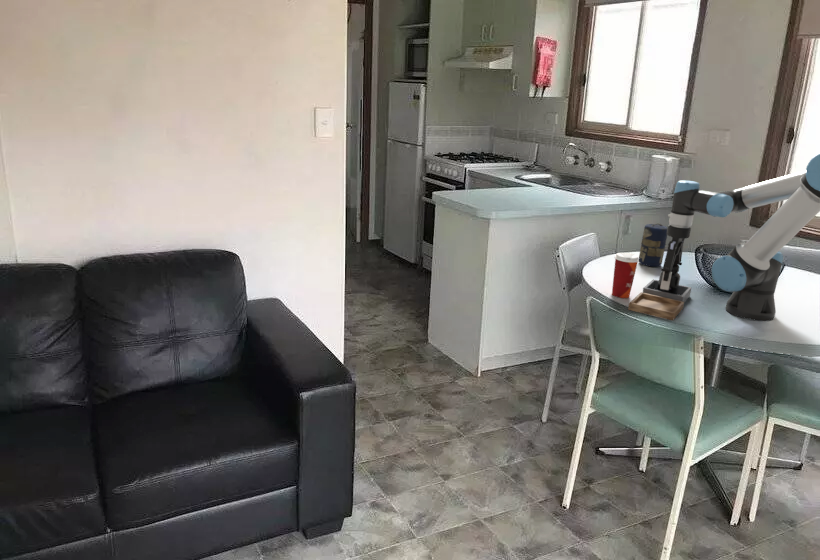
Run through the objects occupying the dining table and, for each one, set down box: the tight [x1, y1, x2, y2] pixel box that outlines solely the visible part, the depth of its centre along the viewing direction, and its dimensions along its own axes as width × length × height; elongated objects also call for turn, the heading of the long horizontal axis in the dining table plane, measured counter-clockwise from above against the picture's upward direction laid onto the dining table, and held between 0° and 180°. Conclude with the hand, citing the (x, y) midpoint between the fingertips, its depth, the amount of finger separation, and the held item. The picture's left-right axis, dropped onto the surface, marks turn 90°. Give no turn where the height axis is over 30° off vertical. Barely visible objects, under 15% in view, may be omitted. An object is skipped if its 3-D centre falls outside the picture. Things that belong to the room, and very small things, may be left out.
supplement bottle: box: [657, 264, 681, 295], centre depth 228 cm, size 7×7×12 cm
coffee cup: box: [611, 252, 639, 299], centre depth 226 cm, size 8×8×15 cm
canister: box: [638, 223, 668, 268], centre depth 267 cm, size 10×10×18 cm
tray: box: [627, 291, 685, 321], centre depth 216 cm, size 15×15×2 cm
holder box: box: [642, 279, 692, 304], centre depth 229 cm, size 14×14×4 cm
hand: (668, 285), depth 228 cm, fingers open, 10 cm apart
